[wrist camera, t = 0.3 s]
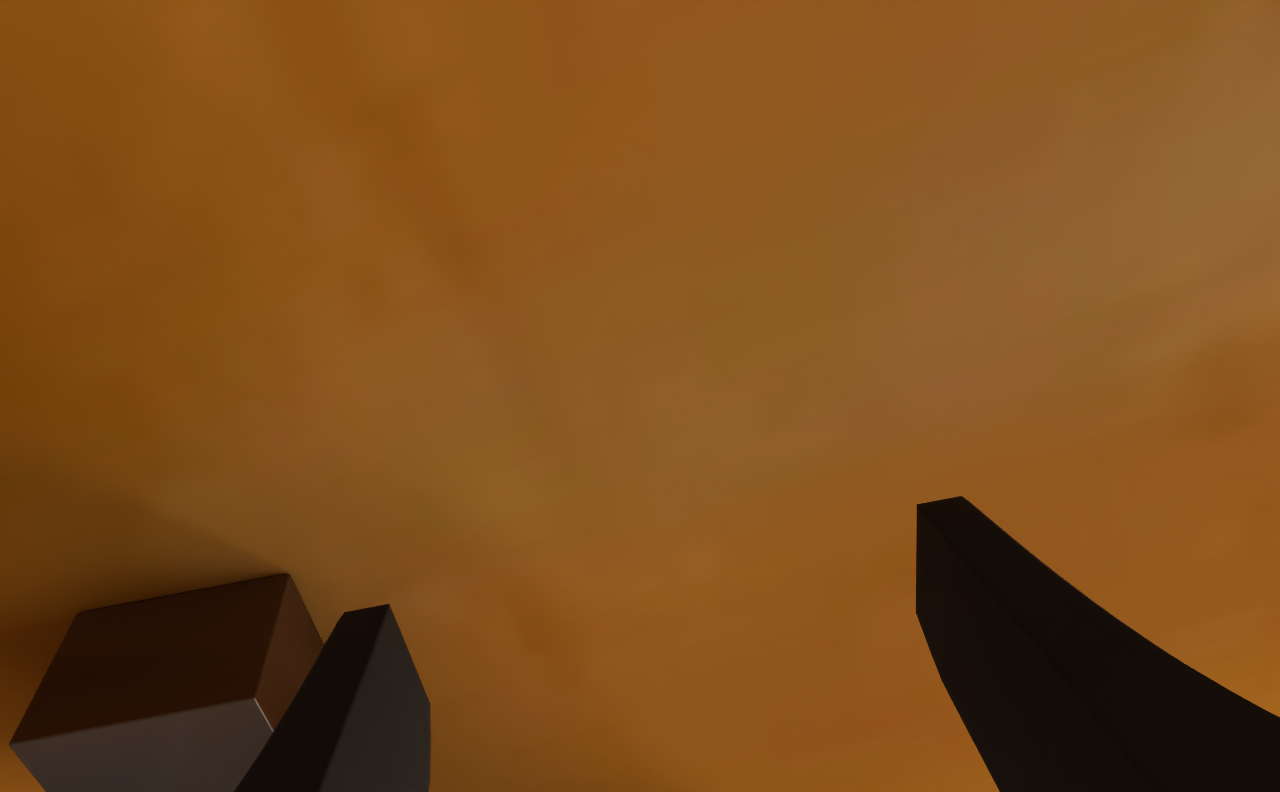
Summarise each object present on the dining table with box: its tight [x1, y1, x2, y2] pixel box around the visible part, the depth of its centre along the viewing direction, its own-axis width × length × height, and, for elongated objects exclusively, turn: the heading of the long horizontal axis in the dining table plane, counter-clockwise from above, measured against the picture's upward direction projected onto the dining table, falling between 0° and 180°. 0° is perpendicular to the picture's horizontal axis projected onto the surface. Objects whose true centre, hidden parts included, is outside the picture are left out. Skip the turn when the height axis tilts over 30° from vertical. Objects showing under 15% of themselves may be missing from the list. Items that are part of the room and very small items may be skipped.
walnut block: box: [9, 574, 324, 792], centre depth 24 cm, size 6×6×4 cm
